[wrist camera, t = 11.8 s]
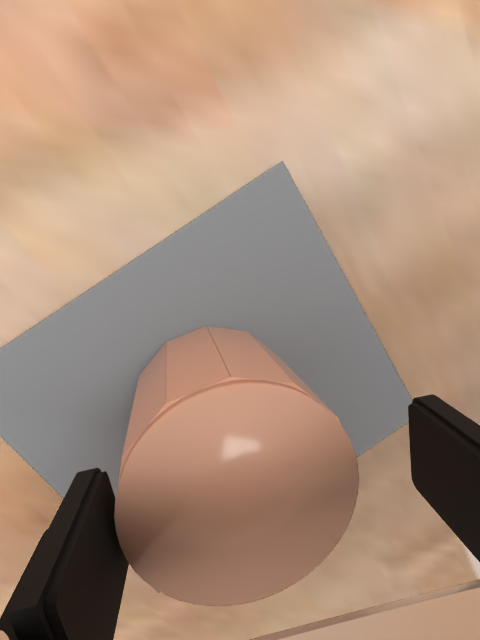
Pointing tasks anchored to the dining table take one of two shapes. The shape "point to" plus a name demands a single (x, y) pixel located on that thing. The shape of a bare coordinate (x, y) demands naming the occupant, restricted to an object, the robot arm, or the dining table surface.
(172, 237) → the slate mat
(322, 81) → the dining table surface
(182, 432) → the peach domed cylinder
